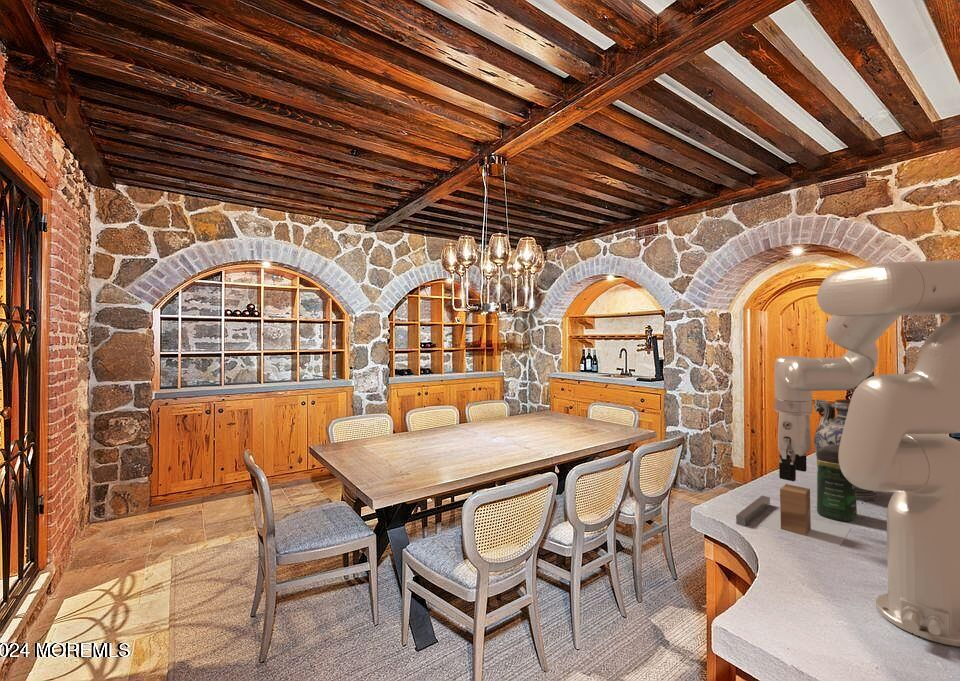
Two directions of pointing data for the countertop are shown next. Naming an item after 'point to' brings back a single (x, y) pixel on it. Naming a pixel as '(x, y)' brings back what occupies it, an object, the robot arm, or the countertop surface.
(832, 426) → the decorative vase
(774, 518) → the mat
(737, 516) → the steel bar
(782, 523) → the walnut block
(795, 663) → the countertop surface
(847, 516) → the coffee jar
